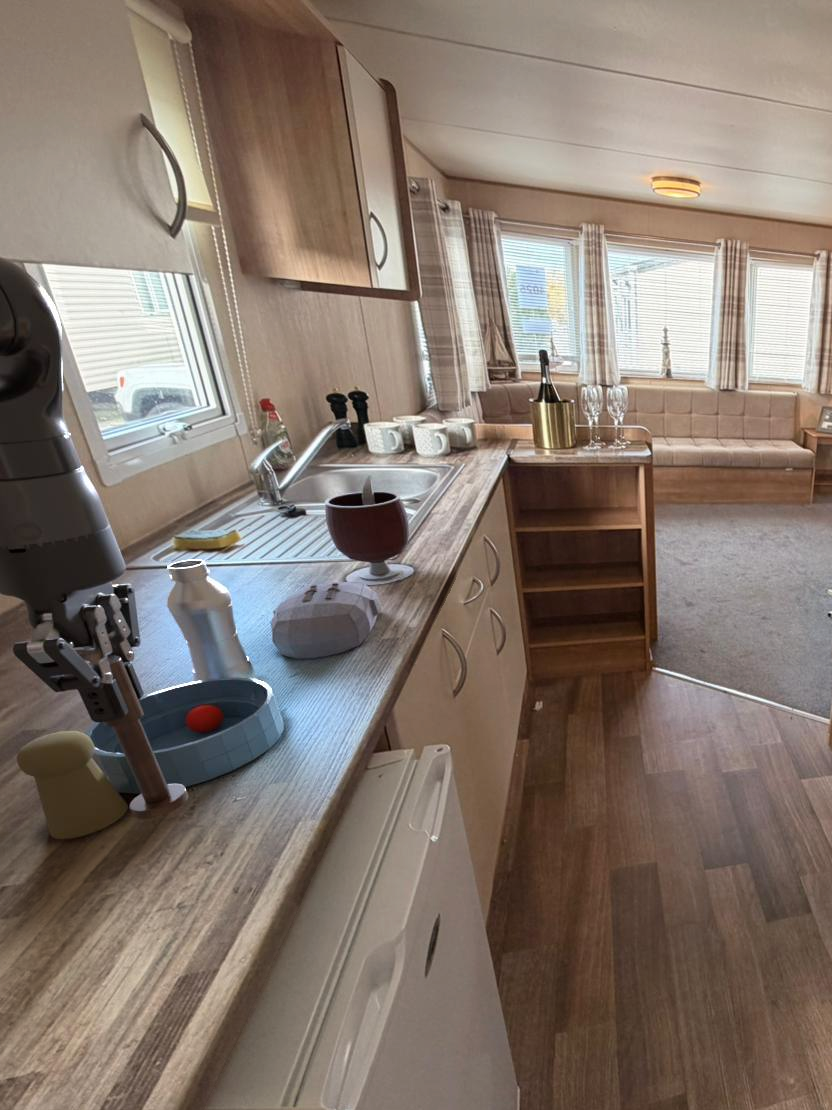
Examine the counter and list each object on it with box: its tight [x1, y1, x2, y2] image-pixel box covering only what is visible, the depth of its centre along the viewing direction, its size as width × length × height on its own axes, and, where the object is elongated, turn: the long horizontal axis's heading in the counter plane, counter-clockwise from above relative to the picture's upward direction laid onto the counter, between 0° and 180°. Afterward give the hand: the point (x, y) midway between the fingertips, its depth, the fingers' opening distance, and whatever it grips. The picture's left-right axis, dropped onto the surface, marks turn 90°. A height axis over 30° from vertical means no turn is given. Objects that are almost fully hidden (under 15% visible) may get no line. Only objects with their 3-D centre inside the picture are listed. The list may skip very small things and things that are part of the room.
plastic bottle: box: [166, 559, 257, 682], centre depth 89 cm, size 6×7×20 cm
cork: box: [16, 730, 129, 840], centre depth 67 cm, size 6×6×11 cm
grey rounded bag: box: [269, 581, 381, 660], centre depth 109 cm, size 15×8×20 cm
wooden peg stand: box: [85, 655, 189, 820], centre depth 59 cm, size 4×4×16 cm
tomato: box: [186, 705, 223, 733], centre depth 83 cm, size 4×4×4 cm
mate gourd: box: [324, 475, 415, 586], centre depth 132 cm, size 16×14×20 cm
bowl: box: [84, 677, 285, 795], centre depth 79 cm, size 17×17×6 cm
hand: (119, 708), depth 58 cm, fingers closed on wooden peg stand, 2 cm apart
